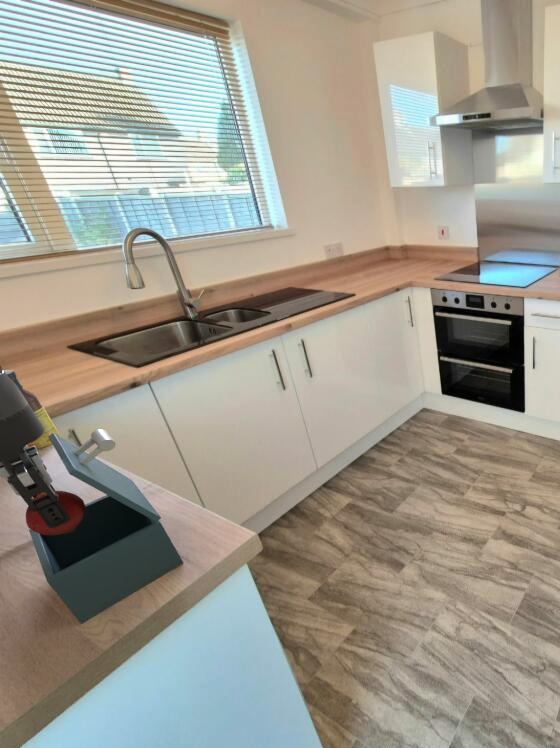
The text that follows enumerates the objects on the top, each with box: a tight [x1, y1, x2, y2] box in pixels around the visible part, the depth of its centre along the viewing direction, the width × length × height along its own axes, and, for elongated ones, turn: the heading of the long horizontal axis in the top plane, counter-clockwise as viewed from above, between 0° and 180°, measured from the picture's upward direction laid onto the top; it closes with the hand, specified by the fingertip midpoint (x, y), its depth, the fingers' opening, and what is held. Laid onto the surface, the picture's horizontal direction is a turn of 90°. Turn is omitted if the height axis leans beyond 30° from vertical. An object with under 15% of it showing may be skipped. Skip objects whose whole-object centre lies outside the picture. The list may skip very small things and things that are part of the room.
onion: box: [25, 490, 86, 535], centre depth 61 cm, size 6×6×8 cm
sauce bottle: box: [3, 369, 62, 450], centre depth 97 cm, size 7×6×20 cm
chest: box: [28, 494, 184, 625], centre depth 67 cm, size 13×16×9 cm
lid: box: [48, 428, 162, 522], centre depth 65 cm, size 14×16×5 cm
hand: (56, 513), depth 61 cm, fingers closed on onion, 5 cm apart
